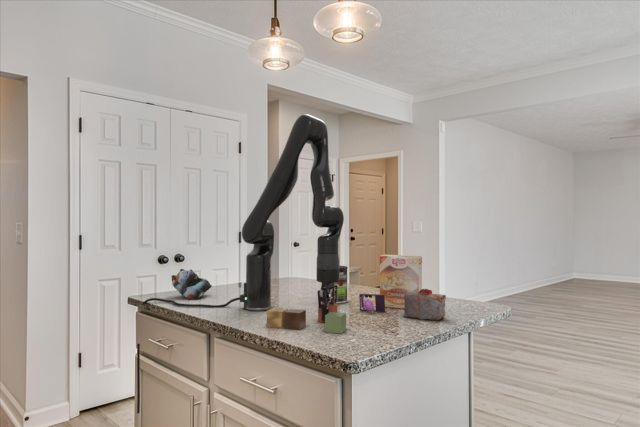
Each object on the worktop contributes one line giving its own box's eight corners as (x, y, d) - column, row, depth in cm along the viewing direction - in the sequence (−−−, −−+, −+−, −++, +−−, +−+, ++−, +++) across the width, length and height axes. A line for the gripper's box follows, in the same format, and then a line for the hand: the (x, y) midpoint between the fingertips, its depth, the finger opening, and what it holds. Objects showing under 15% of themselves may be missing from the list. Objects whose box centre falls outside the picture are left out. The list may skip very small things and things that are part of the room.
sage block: (325, 332, 131) (325, 315, 131) (330, 328, 136) (330, 311, 136) (341, 333, 130) (341, 316, 130) (346, 329, 134) (346, 313, 134)
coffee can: (352, 302, 179) (352, 267, 179) (329, 304, 174) (329, 268, 174) (339, 298, 188) (339, 264, 188) (317, 300, 183) (317, 265, 184)
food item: (448, 317, 151) (448, 288, 151) (443, 322, 144) (442, 291, 144) (408, 313, 157) (408, 285, 157) (401, 318, 150) (401, 288, 150)
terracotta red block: (318, 321, 145) (318, 306, 145) (323, 318, 150) (323, 303, 150) (332, 323, 143) (332, 307, 143) (337, 319, 148) (337, 304, 148)
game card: (384, 293, 160) (359, 292, 162) (383, 301, 155) (357, 299, 157) (385, 310, 162) (360, 309, 164) (383, 318, 157) (358, 316, 159)
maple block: (266, 326, 138) (266, 310, 138) (273, 323, 142) (273, 307, 142) (281, 328, 136) (281, 311, 136) (288, 324, 141) (288, 308, 141)
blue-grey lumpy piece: (196, 300, 181) (179, 270, 181) (177, 309, 187) (160, 280, 186) (217, 285, 195) (201, 257, 194) (199, 294, 200) (183, 267, 199)
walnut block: (284, 328, 136) (284, 311, 136) (290, 324, 140) (291, 308, 140) (299, 329, 134) (299, 313, 134) (305, 326, 139) (305, 310, 139)
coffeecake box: (379, 306, 170) (379, 255, 170) (383, 303, 176) (383, 254, 177) (419, 310, 164) (418, 256, 164) (422, 306, 171) (422, 255, 171)
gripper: (324, 264, 155) (324, 314, 154) (309, 268, 141) (309, 322, 141) (345, 265, 152) (345, 315, 152) (332, 269, 139) (331, 324, 138)
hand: (327, 318), depth 146 cm, fingers closed on terracotta red block, 5 cm apart
